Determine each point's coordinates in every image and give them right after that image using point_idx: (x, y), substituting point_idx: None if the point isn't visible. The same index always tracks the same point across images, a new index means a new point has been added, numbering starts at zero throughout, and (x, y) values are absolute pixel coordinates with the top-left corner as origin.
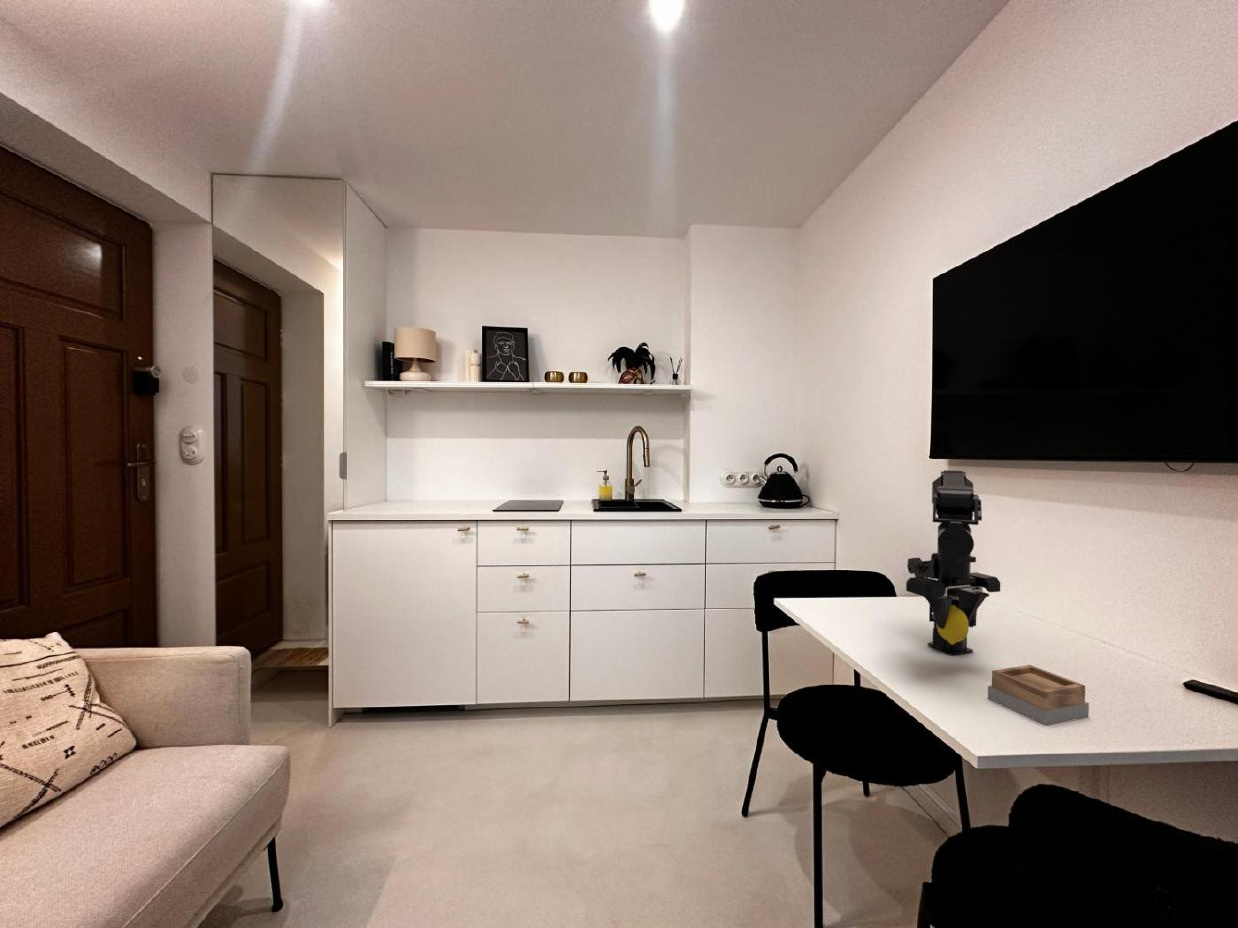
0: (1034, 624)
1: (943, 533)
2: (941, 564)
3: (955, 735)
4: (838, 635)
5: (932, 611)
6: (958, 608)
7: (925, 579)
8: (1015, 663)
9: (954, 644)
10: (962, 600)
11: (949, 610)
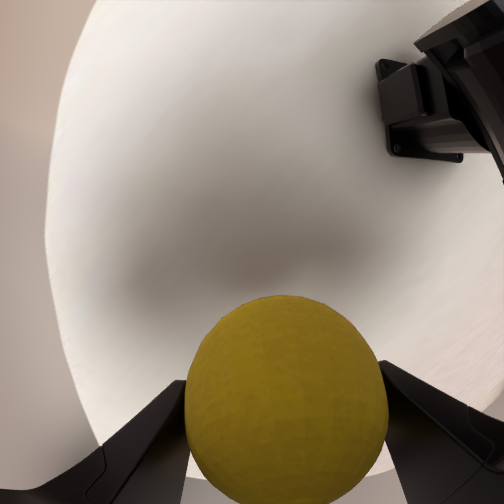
0: None
1: None
2: None
3: (94, 433)
4: None
5: (103, 444)
6: (337, 498)
7: None
8: (477, 255)
9: (426, 143)
10: (461, 482)
11: (235, 499)
